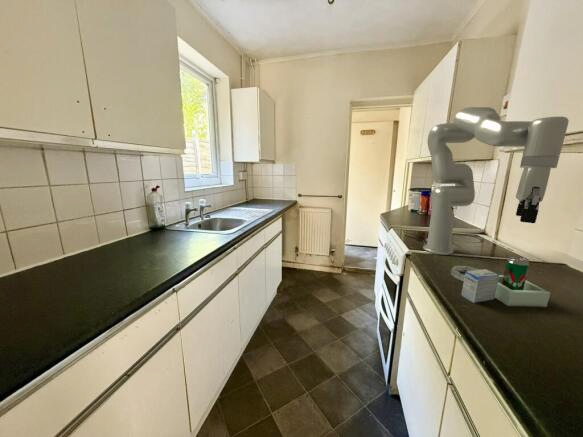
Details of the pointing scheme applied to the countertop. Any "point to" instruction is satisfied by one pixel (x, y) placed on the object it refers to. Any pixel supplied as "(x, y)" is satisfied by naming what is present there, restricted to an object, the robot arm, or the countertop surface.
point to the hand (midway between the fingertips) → (524, 219)
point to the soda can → (515, 273)
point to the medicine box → (480, 285)
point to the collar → (457, 269)
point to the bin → (522, 295)
